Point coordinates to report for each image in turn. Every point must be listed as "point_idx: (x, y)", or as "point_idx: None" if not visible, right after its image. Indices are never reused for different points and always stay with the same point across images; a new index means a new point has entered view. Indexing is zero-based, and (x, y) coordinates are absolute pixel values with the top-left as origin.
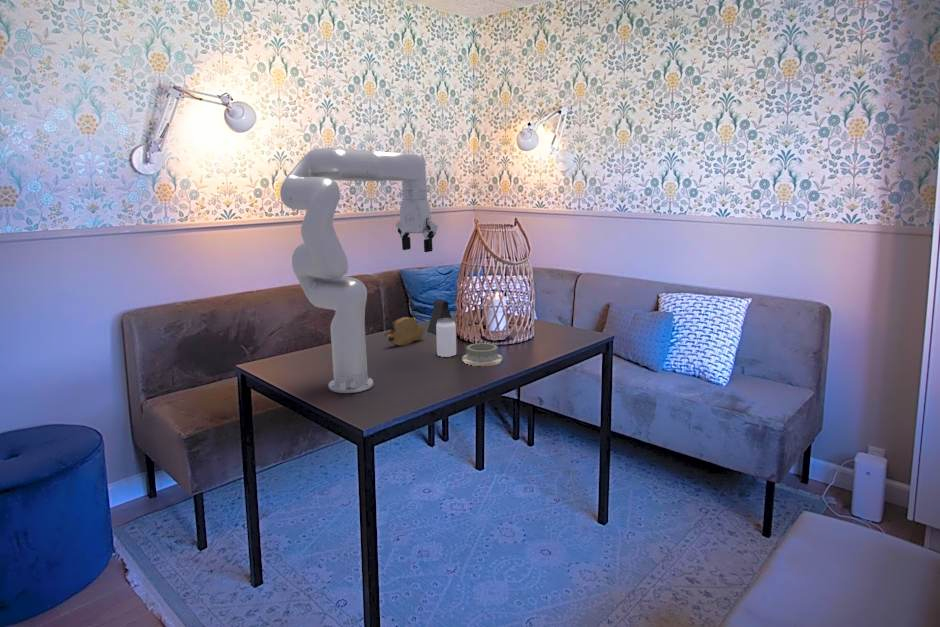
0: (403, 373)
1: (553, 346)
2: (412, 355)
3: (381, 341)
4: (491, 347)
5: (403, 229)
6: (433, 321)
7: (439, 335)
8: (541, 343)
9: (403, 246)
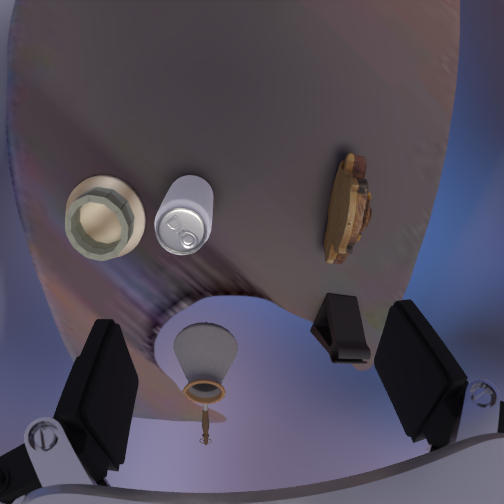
0: (163, 38)
1: None
2: (254, 143)
3: (393, 186)
4: (97, 251)
5: (476, 475)
6: (349, 315)
7: (183, 190)
8: None
9: (411, 320)
